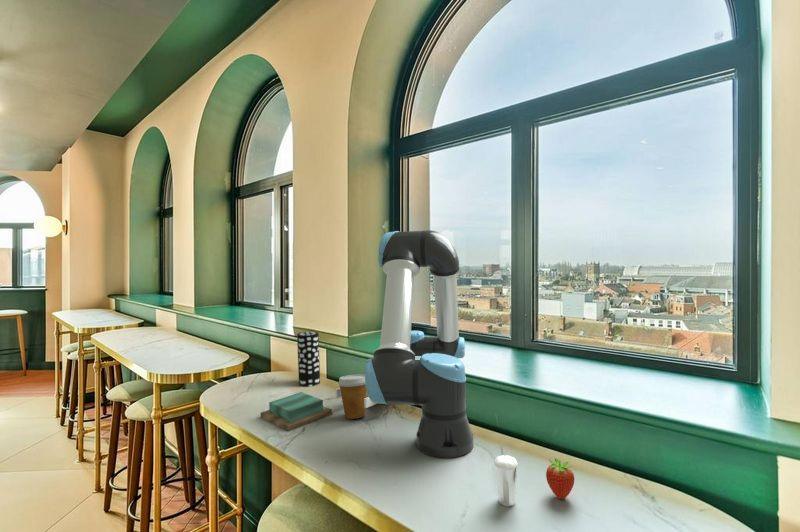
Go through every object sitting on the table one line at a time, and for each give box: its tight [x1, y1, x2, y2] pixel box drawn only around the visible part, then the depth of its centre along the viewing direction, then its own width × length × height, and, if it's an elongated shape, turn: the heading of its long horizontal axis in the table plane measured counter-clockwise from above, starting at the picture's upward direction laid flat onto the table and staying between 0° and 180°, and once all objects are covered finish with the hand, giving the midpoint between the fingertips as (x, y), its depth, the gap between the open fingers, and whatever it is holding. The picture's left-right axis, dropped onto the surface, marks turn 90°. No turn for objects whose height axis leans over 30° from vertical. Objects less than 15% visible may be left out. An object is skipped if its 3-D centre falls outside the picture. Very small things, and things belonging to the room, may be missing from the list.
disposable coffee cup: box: [337, 373, 367, 420], centre depth 128 cm, size 10×10×12 cm
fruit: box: [545, 457, 575, 500], centre depth 83 cm, size 5×5×8 cm
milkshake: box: [494, 445, 519, 507], centre depth 83 cm, size 4×5×10 cm
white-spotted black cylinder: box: [296, 331, 321, 388], centre depth 162 cm, size 8×8×20 cm
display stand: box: [260, 391, 333, 432], centre depth 130 cm, size 16×16×5 cm
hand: (350, 398), depth 125 cm, fingers open, 13 cm apart
